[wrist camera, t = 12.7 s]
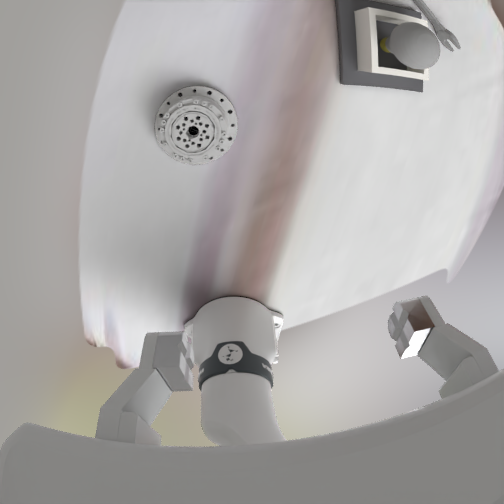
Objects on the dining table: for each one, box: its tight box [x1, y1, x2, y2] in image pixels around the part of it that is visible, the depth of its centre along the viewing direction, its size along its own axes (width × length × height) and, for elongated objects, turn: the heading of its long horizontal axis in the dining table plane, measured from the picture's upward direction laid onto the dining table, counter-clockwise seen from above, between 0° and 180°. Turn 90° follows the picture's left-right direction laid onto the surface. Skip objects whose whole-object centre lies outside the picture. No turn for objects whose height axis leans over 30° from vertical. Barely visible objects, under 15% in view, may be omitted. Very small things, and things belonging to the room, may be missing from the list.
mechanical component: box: [155, 86, 238, 165], centre depth 31 cm, size 10×4×10 cm
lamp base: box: [335, 0, 429, 92], centre depth 25 cm, size 12×12×5 cm
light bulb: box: [380, 22, 440, 69], centre depth 22 cm, size 6×5×10 cm
